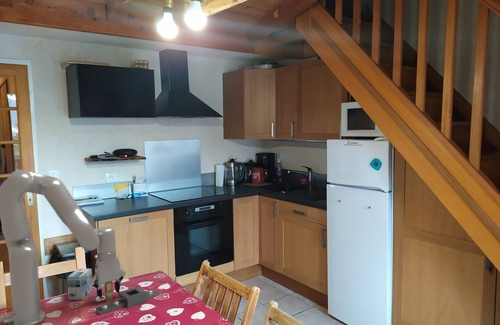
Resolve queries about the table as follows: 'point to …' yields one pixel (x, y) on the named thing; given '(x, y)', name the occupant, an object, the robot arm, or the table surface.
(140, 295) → the grey slotted base plate
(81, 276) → the light bulb box
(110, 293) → the brass pin
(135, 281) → the table surface
